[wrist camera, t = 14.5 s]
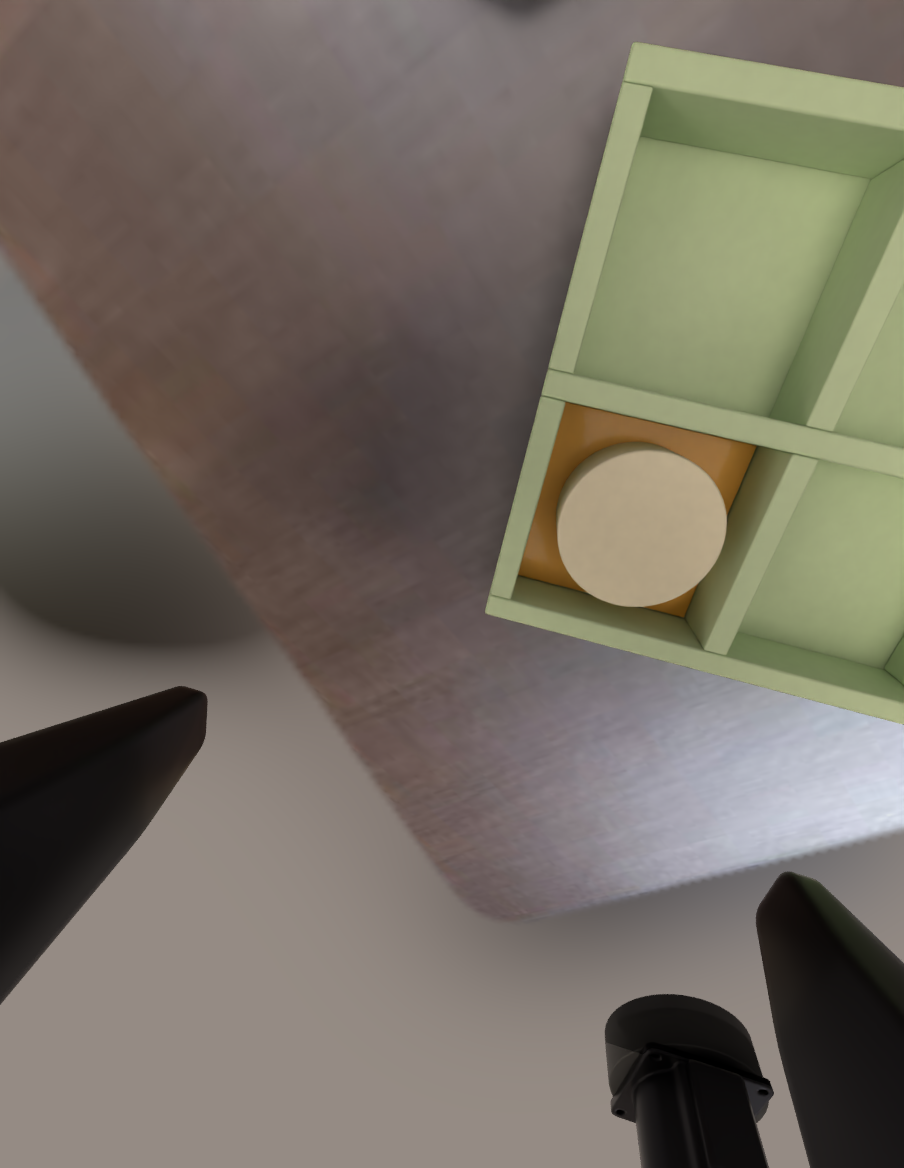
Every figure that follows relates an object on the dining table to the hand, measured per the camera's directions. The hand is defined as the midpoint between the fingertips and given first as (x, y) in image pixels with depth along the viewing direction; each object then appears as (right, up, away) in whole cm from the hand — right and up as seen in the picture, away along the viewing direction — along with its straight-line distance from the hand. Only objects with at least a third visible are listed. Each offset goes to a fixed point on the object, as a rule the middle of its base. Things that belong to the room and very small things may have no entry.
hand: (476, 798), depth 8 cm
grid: (+9, +8, +8) cm, 15 cm away
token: (+5, +6, +9) cm, 12 cm away
